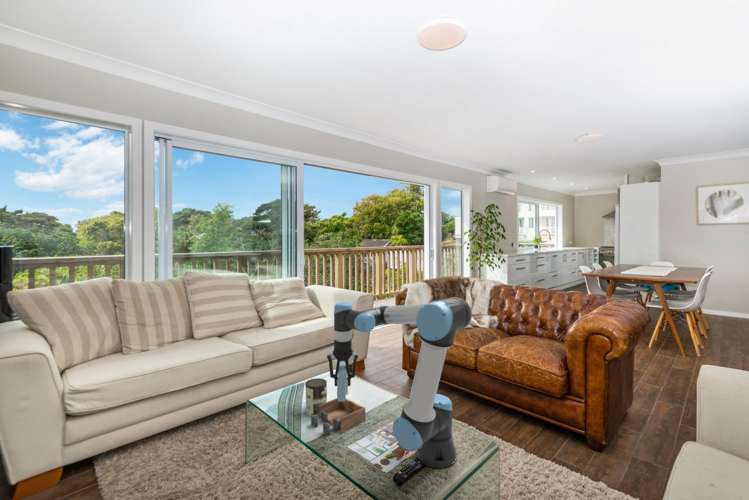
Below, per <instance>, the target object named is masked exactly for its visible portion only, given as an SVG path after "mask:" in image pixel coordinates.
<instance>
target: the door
mask: <svg viewBox="0 0 749 500" xmlns="http://www.w3.org/2000/svg"><path fill="white" fill-rule="evenodd" d="M346 377H347V370H346V364H345V362H344V361H341V362H340V365H339V371H338V391H337V390H336V398H338V402H345V400H346V398H347V395H346Z"/></svg>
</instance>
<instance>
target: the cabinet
mask: <svg viewBox="0 0 749 500" xmlns="http://www.w3.org/2000/svg"><path fill="white" fill-rule="evenodd" d="M319 420H320V421H322V422H323V423H322V432H323V434H325V435H326V436H331V425H332V427H333V428H332V429H335V431H339V432H340V433H344V432H346V431H348V430H350V429H352V428H353V427H356V426H358V425H360V424H362V423H364V422H366V407H364V406H363V405H360V404H358V403H356V402H354V401H352V400H350V399H348V398H347V397H346V400H345V402H338V398H337V397H336V398H334V399H331V400H329V401H327V402H326V403H324V404H321V405H319V406H318V416H314V415H312V416H310V425H311V426H312V427H314V428H318V427H319Z"/></svg>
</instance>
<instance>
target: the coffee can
mask: <svg viewBox="0 0 749 500" xmlns="http://www.w3.org/2000/svg"><path fill="white" fill-rule="evenodd" d="M327 383H328V381H327V380H326V379H324V378H311V379H308V380H306V381H305V382H304V385H305V413H306V415H308V416H310V417H311V416H312V415H314V416H316V417H318V406H319V405H321V404H324V403H326V402H328V398H327V397H328V392H327V391H328V388H327V387H328V386H327Z"/></svg>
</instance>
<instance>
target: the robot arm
mask: <svg viewBox="0 0 749 500" xmlns="http://www.w3.org/2000/svg"><path fill="white" fill-rule="evenodd" d="M333 307H334V308H333V339H334V340H333V350H332V352H331V353H327V356H326V357H327V358H326V359H327V360H328V365H329V367H328V368H329V377H330V379H334V382H333V383H334V387H336V392H337V391H338V371H339V365H340V362H341V361H344V362H345V364H346V370H347V377H346V396H347V395H349V387H351V385H352V384H351V382H352V380H351V379H353V378H355V376H356V370H357V369H356V368H357V367H356V366H357V360H358V358H359V354H358V353H355V352H353V348H352V347H353V346H352V345H353V343H352V342H353V341H352V336H353V335H352V333H353V332H352V331H353V330H355V331H358V332H361V333H370V332H372V330H374V329H375V327H377V326H383V325H384V326H386V325H387V326H388V325H411V324H412V325H413V324H415V326H416V328H417V332H418V337H419V339H420V341H421V345H420V350H419V353H418V359H417V363H416V367H415V372H414V375H413V379H412V384H411V385H412V386H411V390H410V394H409V397H408V398H409V399H408V400H406V401H404V402H403V406H402V409H401V415H400V416H399V417H398V416H397V417H396V418H395V419H394V420H393V423H392V433H393V436H394V438H395V440H396V442H397V443H398V444H399V446H401V447H402V448H403V449H405V450H406V451H408V452H415V451H416V457H417V460H418V461H419V462H420V463H421V464H423V463H424V464H423V465H425V466H428V467H430V468H435V469H444V468H449V467H451V466H452V465H451V464H452V463H453V462H454V461H455V459H456V457H457V456H458V455H457V449H456V446H455V443H454V438H453V410H454V409H453V403H452V402H453V401H452V400H451V399H450V398H449V397H448V396H445V395H443V394H439V393H437V392H438V388H439V383H440V380H441V377H442V371H443V367H444V363H445V361H446V356H447V351H448V349H450V348H452V347H453V346H454V342H455V338H456V334H457V332H460V331H462V330H464V329H465V328H467V327H468V326H469V324H470V323H471V321H472V316H473V313H472V311H473V310H472V309H471V306H470V303H468V302H467V301H466V300H465V299H463V298H461V297H457V296H450V297H447V298H443V299H439V300H433V301H430V302H429V303H415V304H407V305H406V304H403V305H401V304H399V305H380V306H379V307H374V308H369V309H365V310H364V309H363V310H354V309H353V305H352V303H351V302H343V301H342V302H337V303H335V304H334V306H333ZM351 357H352V359H353V360H352V361H353V362H352V369H350V368H351V367H350V362H349V359H350V358H351ZM333 358H335V360H336V365H335V367H336V368H335V371H334V364H333ZM351 370H352V372H351ZM334 372H335V373H334ZM457 458H458V457H457ZM456 460H457V459H456ZM450 465H451V466H450Z"/></svg>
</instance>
